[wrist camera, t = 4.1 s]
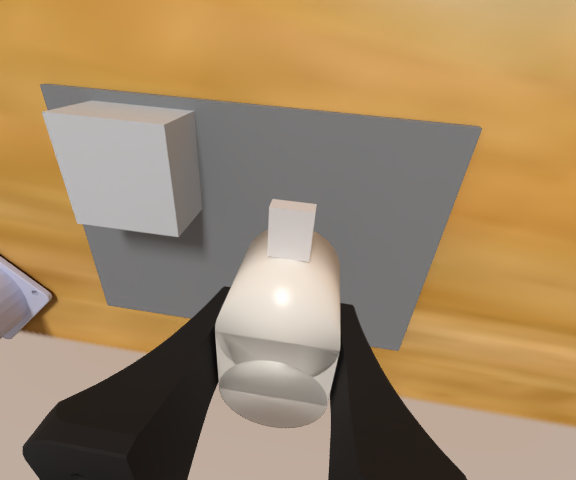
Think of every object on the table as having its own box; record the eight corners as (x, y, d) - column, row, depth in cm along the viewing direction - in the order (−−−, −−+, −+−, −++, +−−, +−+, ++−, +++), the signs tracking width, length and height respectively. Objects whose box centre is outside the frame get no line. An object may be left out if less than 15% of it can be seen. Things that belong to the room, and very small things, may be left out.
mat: (111, 301, 23) (107, 305, 22) (46, 83, 15) (39, 84, 15) (397, 345, 21) (398, 350, 21) (478, 126, 14) (482, 128, 13)
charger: (115, 197, 18) (77, 223, 15) (92, 100, 15) (41, 111, 13) (202, 208, 17) (178, 237, 15) (194, 110, 15) (163, 124, 12)
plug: (320, 372, 17) (315, 455, 13) (245, 360, 17) (223, 438, 14) (356, 188, 11) (363, 249, 8) (245, 175, 12) (207, 228, 8)
